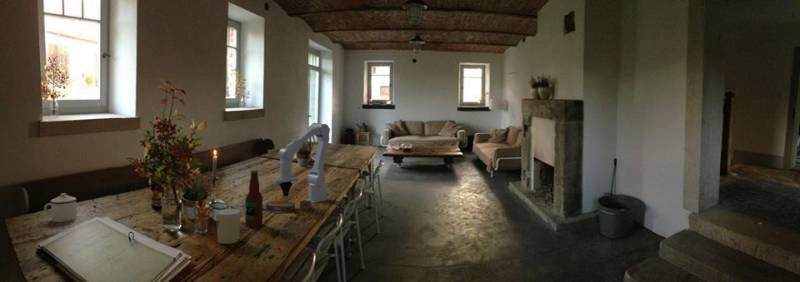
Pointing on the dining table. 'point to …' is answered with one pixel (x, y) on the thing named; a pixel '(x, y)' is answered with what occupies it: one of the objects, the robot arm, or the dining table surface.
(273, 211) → the mat
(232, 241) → the coffee cup
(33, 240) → the dining table surface
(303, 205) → the walnut block
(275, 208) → the tin
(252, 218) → the bottle
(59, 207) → the teacup with lid
